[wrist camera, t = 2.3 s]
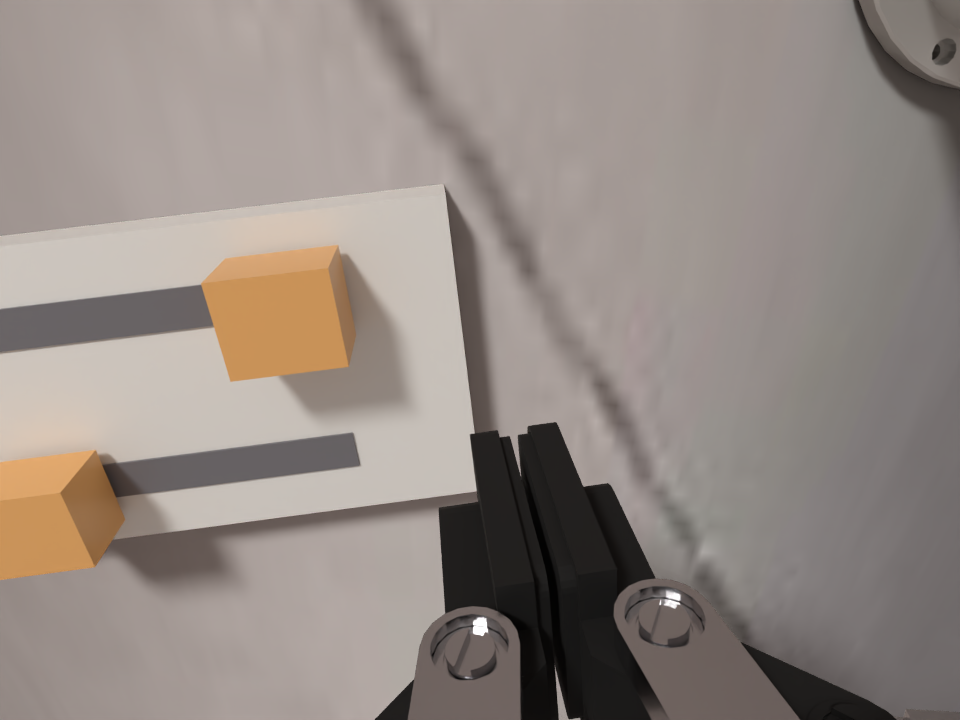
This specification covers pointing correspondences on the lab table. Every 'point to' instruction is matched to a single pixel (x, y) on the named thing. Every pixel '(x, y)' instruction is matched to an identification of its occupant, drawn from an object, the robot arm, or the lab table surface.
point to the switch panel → (203, 374)
